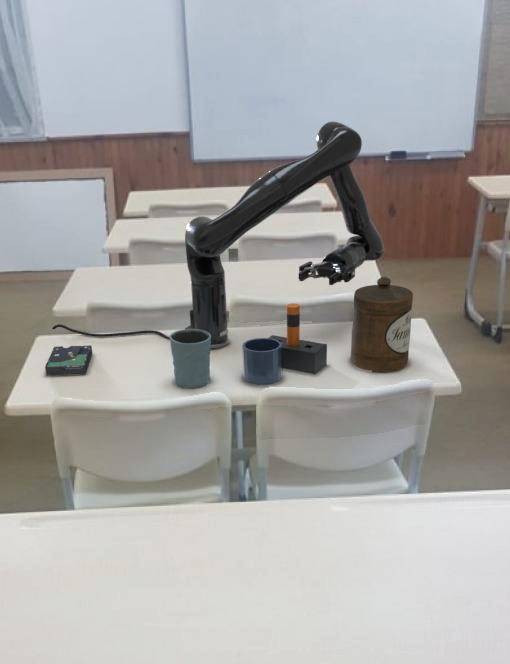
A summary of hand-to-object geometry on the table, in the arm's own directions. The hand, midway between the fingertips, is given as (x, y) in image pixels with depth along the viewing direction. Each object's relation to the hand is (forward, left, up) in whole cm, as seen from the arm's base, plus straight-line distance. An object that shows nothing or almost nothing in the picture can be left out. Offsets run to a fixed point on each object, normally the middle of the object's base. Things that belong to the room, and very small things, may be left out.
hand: (315, 279), depth 218 cm
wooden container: (+19, -1, -19) cm, 27 cm away
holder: (0, -13, -19) cm, 23 cm away
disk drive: (-54, -37, -19) cm, 68 cm away
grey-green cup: (-18, -33, -19) cm, 42 cm away
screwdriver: (0, -13, -19) cm, 22 cm away
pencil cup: (-3, -24, -19) cm, 30 cm away
